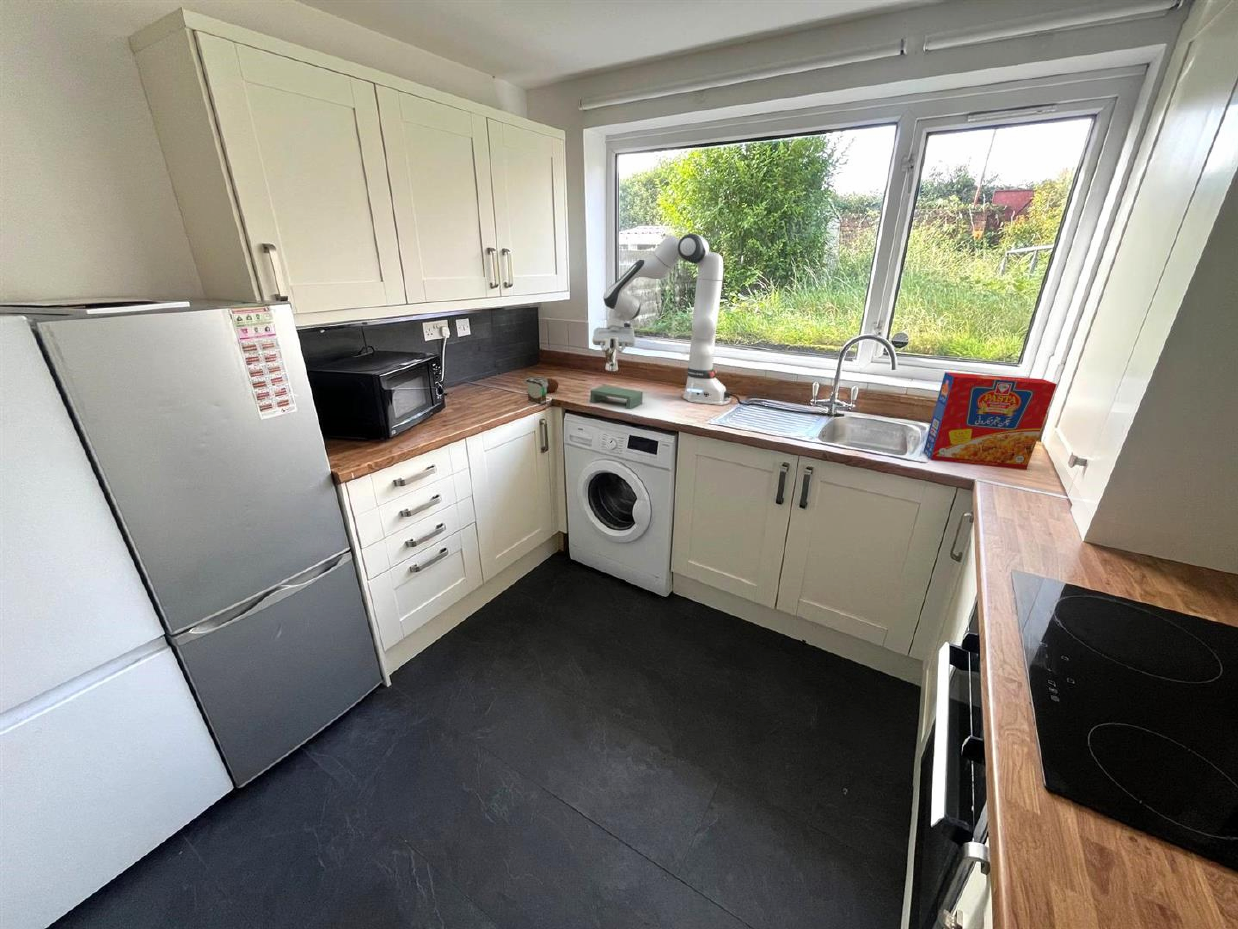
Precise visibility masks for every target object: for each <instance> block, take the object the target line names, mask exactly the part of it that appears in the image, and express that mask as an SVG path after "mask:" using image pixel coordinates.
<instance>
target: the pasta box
mask: <svg viewBox="0 0 1238 929" xmlns="http://www.w3.org/2000/svg"><path fill="white" fill-rule="evenodd" d="M1057 385H1058V384H1057V383H1055V382H1052V381H1050V380H1047V379H1043V378H1034V377H1033V378H1032V377H1022V376H1021V377H1019V376H1007V375H1006V376H1005V375H989V374H977V373H963V372H949V371H948V372H947V371H945V372H944V374H943V378H942V381H941V386H940V389H939V392H938V395H937V400H936V402H935V406H934V411H933V414H932V417H931V421H930V426H929V429H928V433H927V436H926V440H925V443H924V448H923V450H922V453H923V454H924V455H925V456H926V457H927V458H928V459H929V460H930V461H938V462H945V463H956V464H957V463H958V464H966V465H977V466H986V467H993V468H994V467H996V468H1004V469H1005V468H1006V469H1015V470H1026V471H1027V469H1028V466H1029V463H1030V461H1031V458H1032V455H1033V454H1034V453H1033V452H1034V450H1035V448H1036V444H1037V441H1038V438H1039V437H1040V433H1041V430H1042V427H1043V425H1044V421H1045V420H1046V416H1047V414H1048V410H1049V408H1050V405H1051V402H1052V399H1053V397H1054V393H1055V391H1056V388H1057Z"/></svg>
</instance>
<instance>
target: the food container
mask: <svg viewBox="0 0 1238 929" xmlns="http://www.w3.org/2000/svg"><path fill="white" fill-rule="evenodd" d="M546 379H547V378H542V377H526V378H525V385H526V393H527V402H530V403H533V404H536V405H538V406H539V405H540V406H544V405H546V403H547V393H548V392H547V386H548V382H547V380H546Z"/></svg>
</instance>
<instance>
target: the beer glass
mask: <svg viewBox="0 0 1238 929" xmlns="http://www.w3.org/2000/svg"><path fill="white" fill-rule="evenodd" d="M604 347H605V352H604V355H605V371H609V372H617V371H618V370H619V367H618V365H619V364H618V360H619V354H620V353H619V348H620V346H619V337H605V346H604Z"/></svg>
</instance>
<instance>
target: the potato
mask: <svg viewBox="0 0 1238 929" xmlns="http://www.w3.org/2000/svg"><path fill="white" fill-rule="evenodd" d="M545 379H546V380H547V382H548V386H547V392H546V393H553V392H556V391H558V389H559V382H558V380H556V379H552V378H545Z"/></svg>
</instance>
